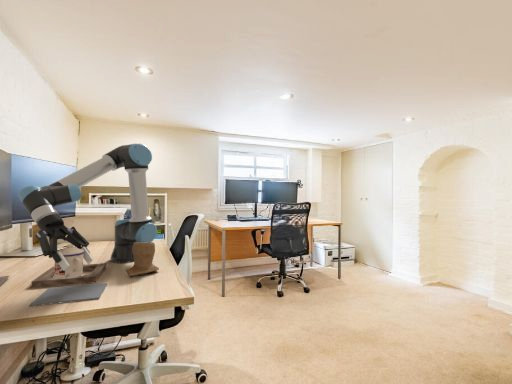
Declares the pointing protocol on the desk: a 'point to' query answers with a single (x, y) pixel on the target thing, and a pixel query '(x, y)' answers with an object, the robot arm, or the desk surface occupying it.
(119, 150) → the robot arm
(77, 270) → the teacup with lid
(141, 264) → the brown upright rounded piece
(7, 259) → the desk surface
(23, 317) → the desk surface
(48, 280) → the walnut holder frame
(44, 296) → the charcoal rubber mat
